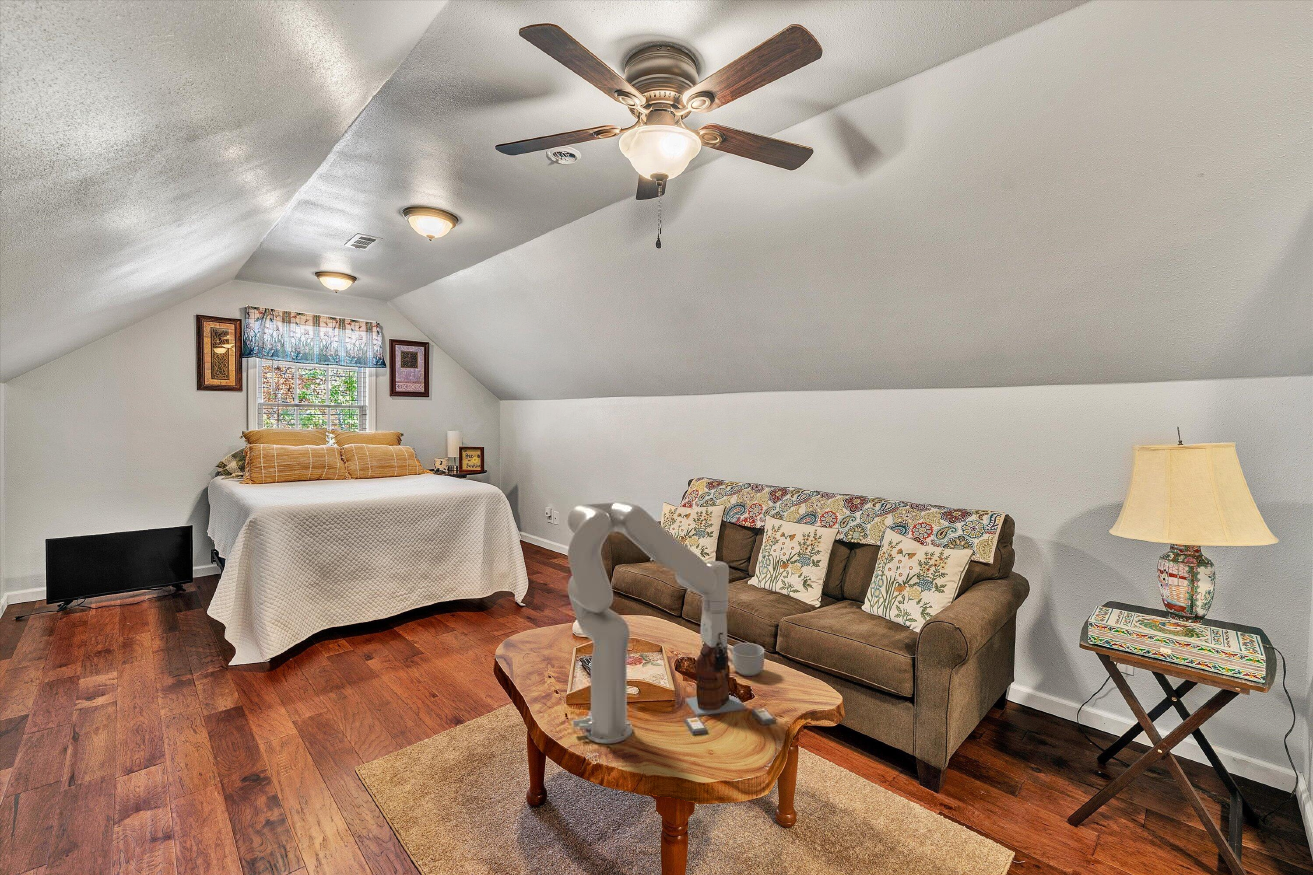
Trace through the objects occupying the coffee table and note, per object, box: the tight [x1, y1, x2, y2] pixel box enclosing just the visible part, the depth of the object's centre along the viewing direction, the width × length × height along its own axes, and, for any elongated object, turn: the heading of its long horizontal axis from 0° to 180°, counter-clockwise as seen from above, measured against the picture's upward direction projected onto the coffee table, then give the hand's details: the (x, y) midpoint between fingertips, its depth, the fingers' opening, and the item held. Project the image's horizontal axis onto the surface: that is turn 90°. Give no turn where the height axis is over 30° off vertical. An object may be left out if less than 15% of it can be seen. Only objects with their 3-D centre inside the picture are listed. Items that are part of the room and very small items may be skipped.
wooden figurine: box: [695, 644, 731, 710], centre depth 169 cm, size 12×6×18 cm, turn 142°
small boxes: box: [683, 707, 777, 736], centre depth 159 cm, size 24×7×1 cm, turn 106°
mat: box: [685, 695, 747, 717], centre depth 169 cm, size 15×10×1 cm, turn 106°
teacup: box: [727, 642, 766, 677], centre depth 193 cm, size 14×11×8 cm
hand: (713, 663), depth 169 cm, fingers open, 9 cm apart
